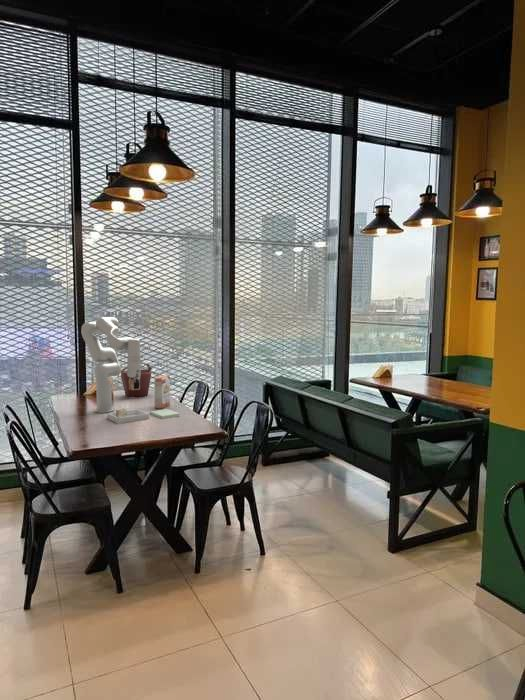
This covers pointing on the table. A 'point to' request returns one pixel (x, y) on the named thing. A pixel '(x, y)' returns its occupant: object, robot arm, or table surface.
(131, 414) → the bin
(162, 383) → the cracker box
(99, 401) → the robot arm
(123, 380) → the bucket
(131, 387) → the labelled block
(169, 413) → the board
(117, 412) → the plain block
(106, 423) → the table surface
